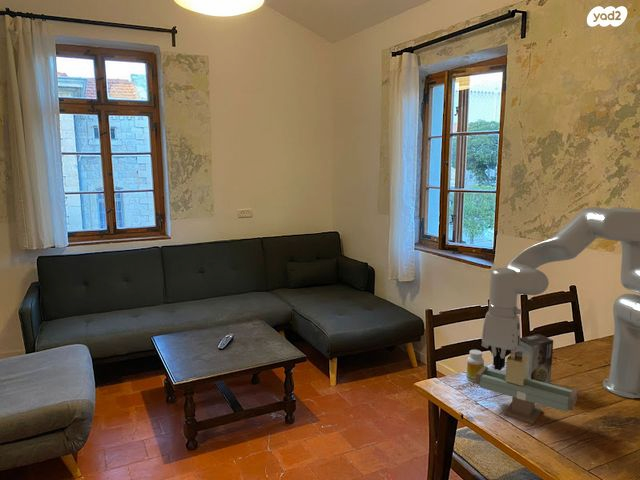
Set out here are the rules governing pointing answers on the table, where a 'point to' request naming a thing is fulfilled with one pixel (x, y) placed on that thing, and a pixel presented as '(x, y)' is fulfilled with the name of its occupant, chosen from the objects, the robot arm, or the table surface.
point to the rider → (517, 368)
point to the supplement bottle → (474, 364)
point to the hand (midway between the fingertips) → (498, 368)
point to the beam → (527, 395)
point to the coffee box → (538, 356)
